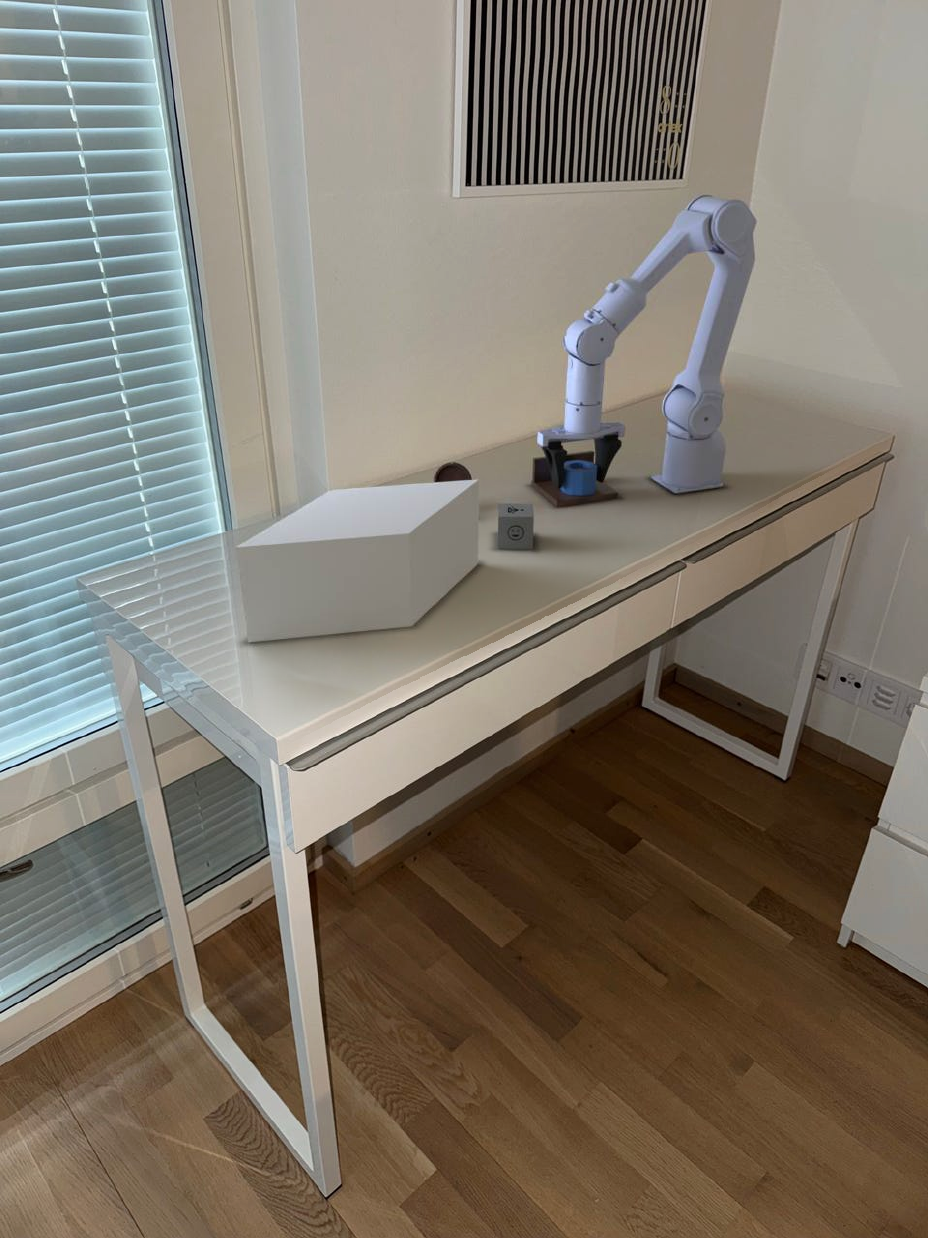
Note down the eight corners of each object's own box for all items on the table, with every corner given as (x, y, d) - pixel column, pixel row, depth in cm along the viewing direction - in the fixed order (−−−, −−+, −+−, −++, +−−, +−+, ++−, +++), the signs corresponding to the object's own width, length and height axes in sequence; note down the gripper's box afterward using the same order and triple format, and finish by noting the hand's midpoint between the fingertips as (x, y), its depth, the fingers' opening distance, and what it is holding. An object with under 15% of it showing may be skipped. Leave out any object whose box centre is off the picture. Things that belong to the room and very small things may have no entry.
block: (519, 586, 121) (522, 498, 115) (283, 673, 102) (272, 574, 96) (440, 542, 133) (439, 461, 127) (216, 614, 114) (203, 522, 108)
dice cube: (497, 534, 135) (498, 503, 133) (531, 535, 135) (532, 503, 133) (497, 548, 131) (498, 516, 129) (532, 549, 131) (533, 517, 128)
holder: (589, 477, 156) (591, 449, 154) (617, 498, 148) (620, 468, 146) (531, 485, 153) (532, 457, 151) (556, 507, 145) (558, 477, 142)
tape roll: (585, 481, 152) (587, 458, 150) (601, 493, 147) (603, 469, 145) (555, 485, 150) (556, 462, 148) (570, 497, 146) (571, 473, 144)
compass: (419, 520, 140) (418, 475, 137) (437, 502, 147) (436, 458, 143) (469, 526, 138) (469, 481, 134) (484, 507, 144) (485, 464, 141)
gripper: (612, 390, 147) (606, 470, 154) (530, 398, 143) (527, 480, 149) (634, 401, 141) (626, 484, 148) (549, 410, 137) (545, 495, 144)
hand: (578, 483), depth 148 cm, fingers open, 7 cm apart
